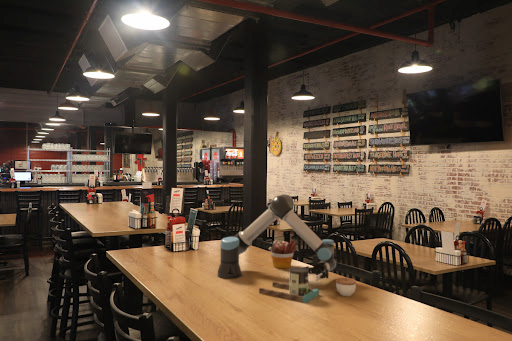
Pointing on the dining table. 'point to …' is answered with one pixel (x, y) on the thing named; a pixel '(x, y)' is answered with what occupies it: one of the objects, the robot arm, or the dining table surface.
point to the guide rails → (282, 294)
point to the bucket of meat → (282, 253)
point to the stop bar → (310, 295)
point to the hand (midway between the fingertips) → (305, 276)
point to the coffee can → (298, 281)
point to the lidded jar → (346, 286)
